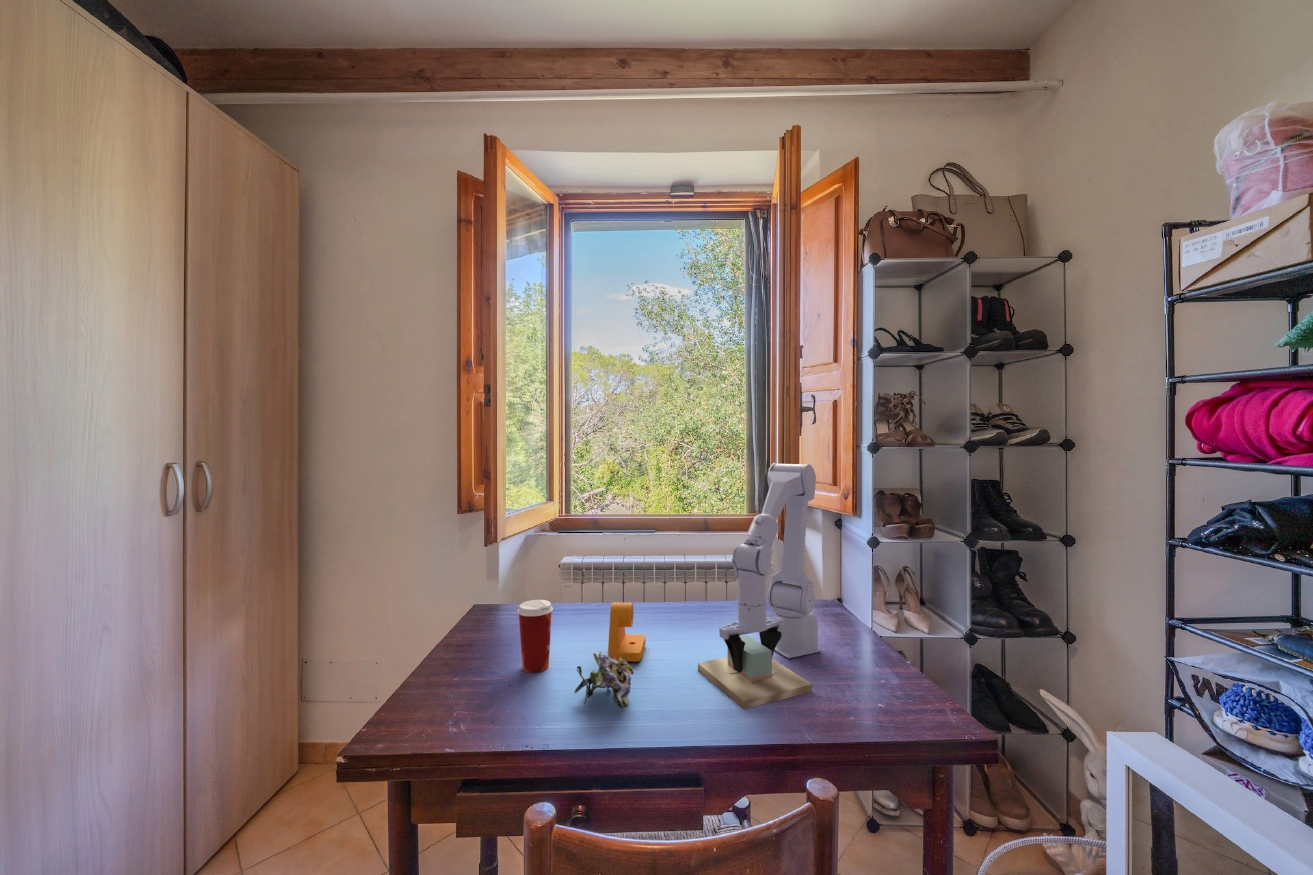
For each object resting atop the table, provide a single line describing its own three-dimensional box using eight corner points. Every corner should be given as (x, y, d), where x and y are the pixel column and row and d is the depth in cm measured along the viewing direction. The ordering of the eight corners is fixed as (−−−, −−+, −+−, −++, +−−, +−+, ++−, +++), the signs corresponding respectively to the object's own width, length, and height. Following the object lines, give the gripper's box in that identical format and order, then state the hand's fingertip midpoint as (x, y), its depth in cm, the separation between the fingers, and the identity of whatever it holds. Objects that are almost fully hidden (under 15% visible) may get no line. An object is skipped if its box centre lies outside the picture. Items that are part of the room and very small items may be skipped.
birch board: (759, 656, 121) (759, 650, 121) (812, 691, 105) (812, 684, 105) (697, 669, 115) (697, 662, 115) (743, 709, 98) (743, 701, 98)
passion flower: (624, 732, 100) (635, 699, 93) (567, 725, 99) (574, 692, 92) (627, 677, 109) (638, 643, 103) (575, 670, 108) (583, 635, 102)
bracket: (640, 665, 117) (639, 611, 117) (608, 663, 118) (607, 610, 118) (646, 645, 128) (645, 596, 128) (616, 644, 129) (616, 595, 129)
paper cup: (560, 666, 117) (559, 603, 116) (530, 678, 111) (530, 612, 111) (539, 656, 122) (539, 596, 122) (510, 667, 116) (510, 604, 116)
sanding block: (747, 660, 116) (747, 635, 116) (771, 677, 107) (771, 650, 107) (727, 664, 114) (727, 638, 114) (751, 682, 105) (751, 654, 105)
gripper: (769, 592, 116) (769, 653, 116) (711, 601, 110) (712, 665, 110) (789, 601, 110) (789, 666, 110) (729, 611, 104) (730, 680, 104)
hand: (752, 667), depth 110 cm, fingers open, 6 cm apart
